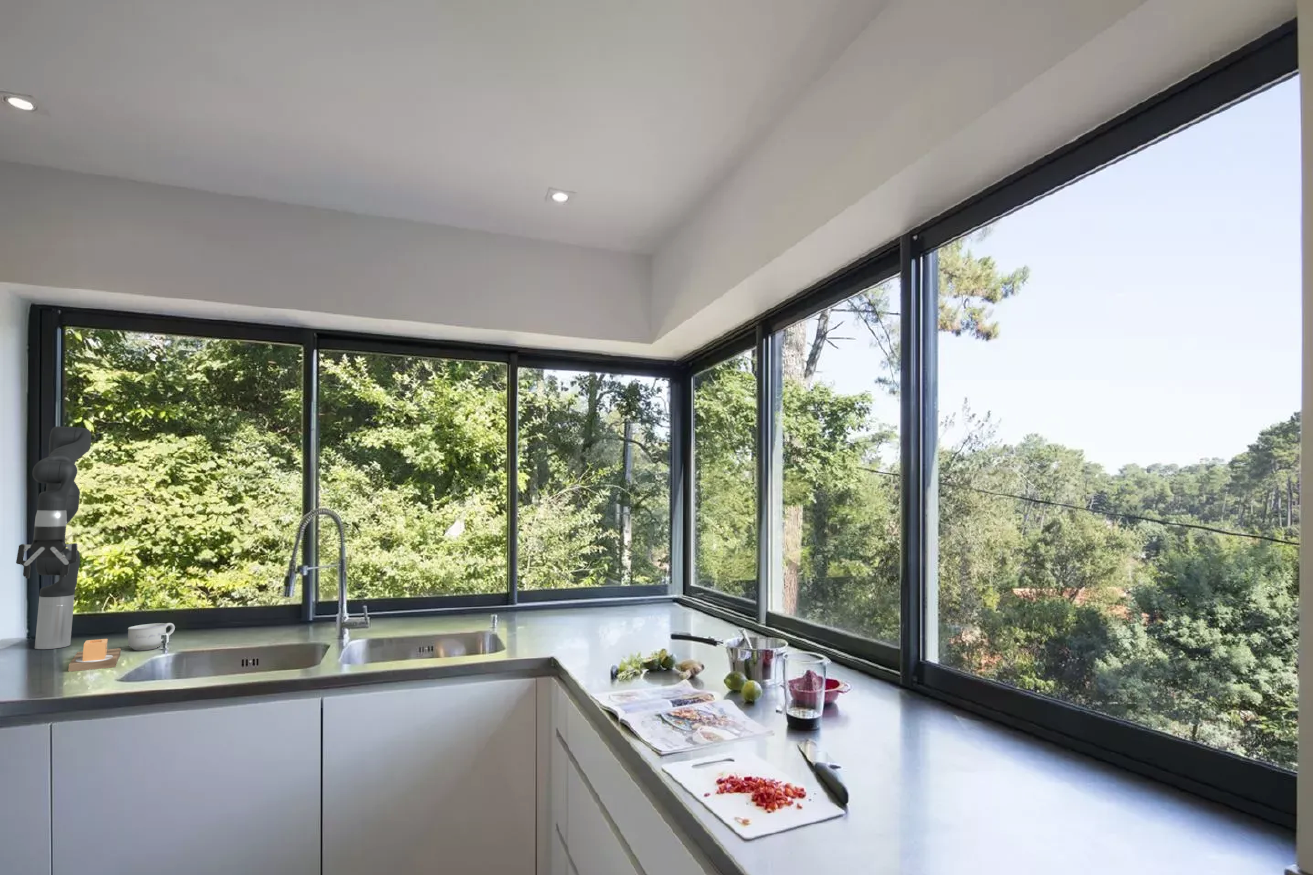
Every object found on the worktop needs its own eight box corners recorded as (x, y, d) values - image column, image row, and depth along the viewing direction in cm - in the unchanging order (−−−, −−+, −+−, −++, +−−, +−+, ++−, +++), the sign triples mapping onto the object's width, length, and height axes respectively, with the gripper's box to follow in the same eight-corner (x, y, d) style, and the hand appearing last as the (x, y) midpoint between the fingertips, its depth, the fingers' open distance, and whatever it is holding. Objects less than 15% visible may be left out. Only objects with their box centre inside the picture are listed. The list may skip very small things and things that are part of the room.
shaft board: (77, 658, 223) (78, 640, 224) (120, 654, 230) (121, 637, 230) (68, 671, 207) (69, 652, 207) (115, 667, 213) (116, 648, 213)
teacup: (132, 653, 231) (134, 628, 232) (121, 649, 237) (123, 625, 238) (180, 647, 242) (182, 623, 243) (168, 642, 249) (170, 619, 249)
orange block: (104, 659, 213) (105, 642, 213) (82, 661, 210) (83, 644, 211) (106, 655, 218) (107, 638, 219) (84, 656, 216) (86, 640, 216)
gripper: (17, 525, 213) (12, 579, 211) (78, 525, 221) (73, 577, 219) (22, 524, 219) (17, 577, 217) (81, 524, 227) (76, 575, 225)
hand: (45, 577), depth 218 cm, fingers open, 8 cm apart
